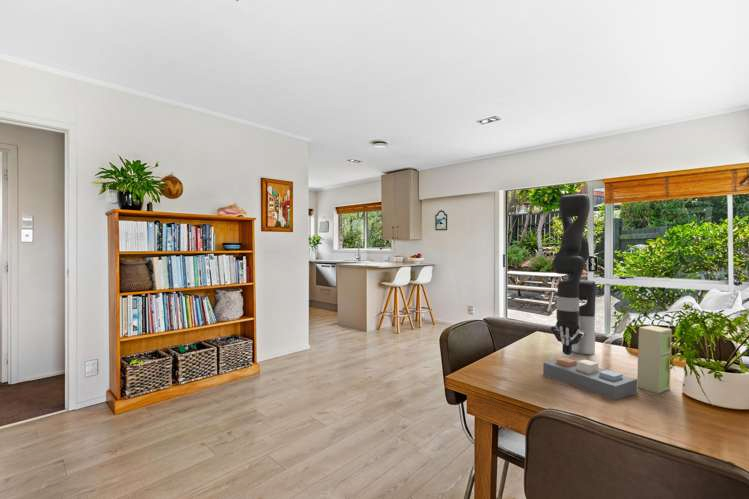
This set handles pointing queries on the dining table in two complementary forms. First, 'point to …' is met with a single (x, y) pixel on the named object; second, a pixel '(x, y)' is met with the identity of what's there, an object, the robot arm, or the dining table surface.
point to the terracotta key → (566, 362)
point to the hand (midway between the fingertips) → (566, 354)
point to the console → (591, 380)
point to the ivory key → (587, 366)
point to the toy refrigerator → (654, 358)
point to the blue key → (610, 375)
